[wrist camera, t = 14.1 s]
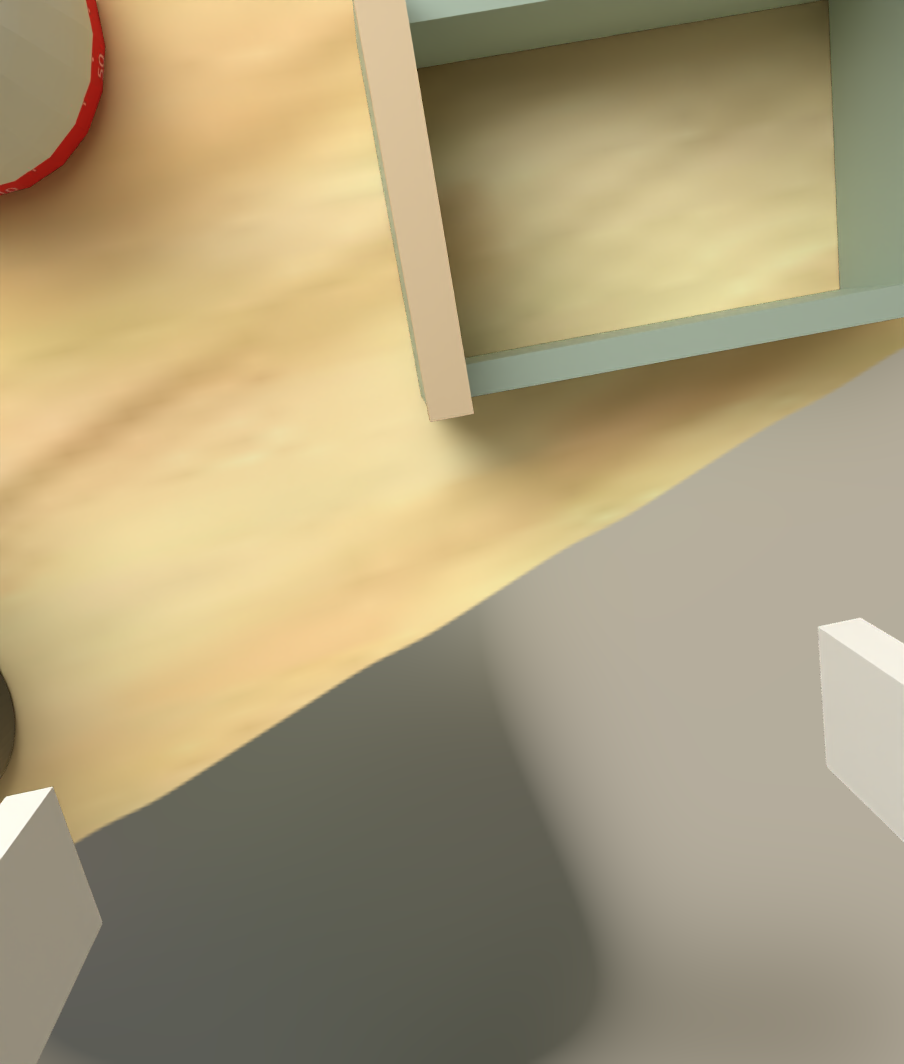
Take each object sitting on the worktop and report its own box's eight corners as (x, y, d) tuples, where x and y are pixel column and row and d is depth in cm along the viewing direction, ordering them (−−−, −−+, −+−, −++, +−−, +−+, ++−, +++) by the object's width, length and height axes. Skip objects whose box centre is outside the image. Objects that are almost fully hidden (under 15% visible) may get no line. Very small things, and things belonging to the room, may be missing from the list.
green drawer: (419, 399, 42) (430, 421, 31) (352, 39, 37) (340, -75, 27) (867, 316, 43) (1023, 311, 32) (856, -45, 38) (1033, -186, 28)
